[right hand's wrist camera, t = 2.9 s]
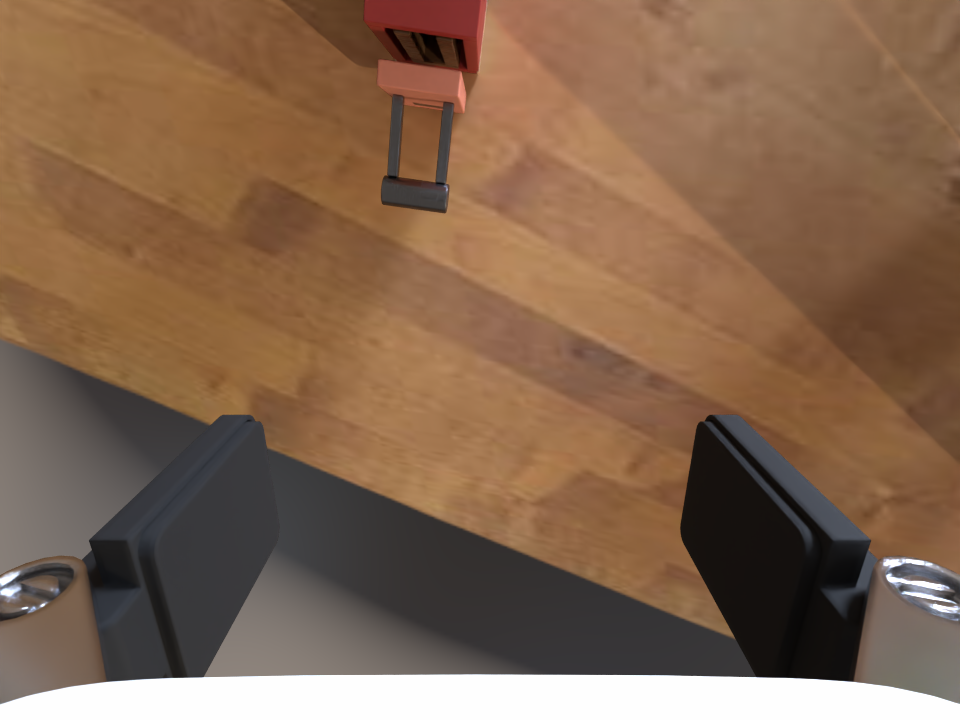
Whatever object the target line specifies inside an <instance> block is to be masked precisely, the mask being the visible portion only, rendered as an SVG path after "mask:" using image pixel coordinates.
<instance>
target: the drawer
mask: <svg viewBox="0 0 960 720" xmlns="http://www.w3.org/2000/svg"><path fill="white" fill-rule="evenodd" d="M393 32H394V33H395V35H396V36H397V38H398V40H399V41H400V43H401V44H402V46H403V47H404V49H405V50H406V52H407V53H408V55H409V56H410V58H411V59H412V61H413V62H415V63H422V64H429V65H435V66H442V67H448V68H455V69H459V63H460V54H461V44H462V39H456V38H450V37H443V36H437V35H430V34H424V33H417V32H411V31H404V30H398V29H393ZM377 85H378V86H379V87H380V88H382V89H383V90H384V91H385V92H387V93H388V94H389V95H390V96H392V112H391V127H390V142H389V157H388V172H387V175H388V176H387V175H386V176H384V178H383V181H382V187H381V201H382V204H383V205H388V206H396V207H403V208H410V209H417V210H424V211H431V212H439V213H446V212H447V207H448V199H449V185H448V184H446V181H447V172H448V162H449V153H450V143H451V134H452V124H453V115H454V112H457V113H464V111H465V102H466V91H465V86H464V82H463V77H462V73H461V71H458V70H451V69H444V68H438V67H431V66H424V65H418V64H411V63H405V62H398V61H391V60H385V59H379V60H378V71H377ZM404 105H410V106H417V107H423V108H430V109H437V110H442V121H441V131H440V141H439V151H438V161H437V171H436V182H429V181H422V180H415V179H408V178H401V177H399V168H400V154H401V141H402V127H403V114H404Z"/></svg>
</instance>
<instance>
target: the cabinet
mask: <svg viewBox="0 0 960 720" xmlns="http://www.w3.org/2000/svg"><path fill="white" fill-rule="evenodd" d="M487 1H488V0H364V22H365V23H366V24H367V25H368V27H369V28H370V29H371V30H372V32H373V33H374V34H375V35H376V37H377V38H378V39H379V40H380V42H381V43H382V44H383V45H384V47H385V48H386V49H387V50H388V51H389V53H390V54H391V55H392V56H393V58H394V60H395V61H398V62H405V63H411V64H418V65H424V66H431V67H438V68H444V69H451V70H458V71H463V72H469V73H476V74H479V68H480V60H481V51H482V43H483V34H484V26H485V17H486V9H487ZM393 29H398V30H404V31H411V32H417V33H424V34H430V35H437V36H443V37H450V38H456V39H462V44H461V54H460V63H459V69H455V68H448V67H442V66H435V65H429V64H422V63H415V62H413V61H412V59H411V58H410V56H409V55H408V53H407V52H406V50H405V49H404V47H403V46H402V44H401V43H400V41H399V40H398V38H397V36H396V35H395V33H394V32H393Z"/></svg>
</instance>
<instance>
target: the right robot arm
mask: <svg viewBox="0 0 960 720" xmlns="http://www.w3.org/2000/svg"><path fill="white" fill-rule="evenodd" d="M279 530H280V526H279V519H278V513H277V507H276V501H275V495H274V489H273V483H272V477H271V471H270V464H269V458H268V452H267V446H266V440H265V434H264V429H263V425H262V423H261V422H255V420H254V418H253V417H252V416H251V415H222V416H220V417H219V418H218V419H217V420H216V421H215V422H214V423H213V424H211V425H210V426H209V427H208V428H207V429H206V430H205V431H204V432H203V433H202V434H201V435H200V436H199V437H198V438H197V439H196V440H195V441H193V442H192V443H191V444H190V445H189V446H188V447H187V448H186V449H185V450H184V451H183V452H182V453H181V454H180V455H179V456H178V457H177V458H175V459H174V460H173V461H172V462H171V463H170V464H169V465H168V466H167V467H166V468H165V469H164V470H163V471H162V472H161V473H160V474H159V475H157V476H156V477H155V478H154V479H153V480H152V481H151V482H150V483H149V484H148V485H147V486H146V487H145V488H144V489H143V490H142V491H141V492H140V493H138V494H137V495H136V496H135V497H134V498H133V499H132V500H131V501H130V502H129V503H128V504H127V505H126V506H125V507H124V508H123V509H122V510H121V511H119V512H118V513H117V514H116V515H115V516H114V517H113V518H112V519H111V520H110V521H109V522H108V523H107V524H106V525H105V526H104V527H102V528H101V529H100V530H99V531H98V532H97V533H96V534H95V535H94V536H93V537H92V538H91V539H90V540H89V542H90V545H91V548H92V551H91V552H90V553H89V554H88V555H86V556H85V557H84V558H83V559H82V560H80V559H78V558H76V557H73V556H55V557H48V558H42V559H39V560H36V561H32V562H29V563H25V564H23V565H21V566H18V567H16V568H14V569H11V570H9V571H7V572H5V573H3V574H1V575H0V720H960V575H959V574H957V573H955V572H953V571H951V570H949V569H946V568H944V567H942V566H939V565H937V564H935V563H931V562H928V561H925V560H921V559H918V558H912V557H905V556H887V557H884V558H882V559H880V560H878V559H877V558H876V557H875V556H874V555H872V554H871V553H870V552H869V551H868V548H869V545H870V542H871V540H870V539H869V538H868V537H867V536H866V535H865V534H864V533H863V532H862V531H861V530H860V529H859V528H858V527H856V526H855V525H854V524H853V523H852V522H851V521H850V520H849V519H848V518H847V517H846V516H845V515H844V514H843V513H842V512H841V511H840V510H838V509H837V508H836V507H835V506H834V505H833V504H832V503H831V502H830V501H829V500H828V499H827V498H826V497H825V496H824V495H823V494H822V493H820V492H819V491H818V490H817V489H816V488H815V487H814V486H813V485H812V484H811V483H810V482H809V481H808V480H807V479H806V478H805V477H804V476H803V475H801V474H800V473H799V472H798V471H797V470H796V469H795V468H794V467H793V466H792V465H791V464H790V463H789V462H788V461H787V460H786V459H785V458H783V457H782V456H781V455H780V454H779V453H778V452H777V451H776V450H775V449H774V448H773V447H772V446H771V445H770V444H769V443H768V442H767V441H765V440H764V439H763V438H762V437H761V436H760V435H759V434H758V433H757V432H756V431H755V430H754V429H753V428H752V427H751V426H750V425H749V424H747V423H746V422H745V421H744V420H743V419H742V418H741V417H740V416H738V415H709V416H708V417H707V418H706V420H705V422H699V423H698V425H697V429H696V434H695V440H694V446H693V452H692V458H691V464H690V471H689V477H688V483H687V489H686V495H685V501H684V507H683V513H682V519H681V526H680V530H681V537H682V541H683V543H684V545H685V547H686V549H687V551H688V553H689V554H690V556H691V558H692V560H693V562H694V564H695V565H696V567H697V569H698V571H699V573H700V575H701V576H702V578H703V580H704V582H705V584H706V586H707V587H708V589H709V591H710V593H711V595H712V597H713V598H714V600H715V602H716V604H717V606H718V607H719V609H720V611H721V613H722V615H723V617H724V618H725V620H726V622H727V624H728V626H729V628H730V629H731V631H732V633H733V635H734V637H735V639H736V640H737V642H738V644H739V646H740V648H741V650H742V651H743V653H744V655H745V657H746V659H747V660H748V662H749V664H750V666H751V668H752V670H753V672H754V673H755V675H756V677H757V678H751V677H702V676H634V675H632V676H631V675H326V676H259V677H210V678H203V677H204V675H205V673H206V672H207V670H208V668H209V666H210V664H211V662H212V661H213V659H214V657H215V655H216V653H217V651H218V650H219V648H220V646H221V644H222V642H223V640H224V639H225V637H226V635H227V633H228V631H229V629H230V628H231V626H232V624H233V622H234V620H235V618H236V617H237V615H238V613H239V611H240V609H241V607H242V606H243V604H244V602H245V600H246V598H247V596H248V595H249V593H250V591H251V589H252V587H253V586H254V584H255V582H256V580H257V578H258V576H259V574H260V573H261V571H262V569H263V567H264V565H265V564H266V562H267V560H268V558H269V556H270V554H271V553H272V551H273V549H274V547H275V545H276V543H277V541H278V537H279Z"/></svg>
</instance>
